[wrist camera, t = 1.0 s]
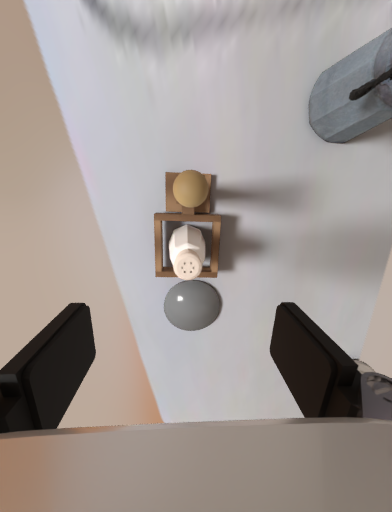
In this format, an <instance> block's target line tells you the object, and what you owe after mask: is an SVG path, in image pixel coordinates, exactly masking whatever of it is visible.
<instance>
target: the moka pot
mask: <svg viewBox="0 0 392 512" xmlns="http://www.w3.org/2000/svg"><path fill="white" fill-rule="evenodd" d="M390 118H392V28H391V29H389V30H388V31H386V32H385V33H383V34H381V35H380V36H378V37H377V38H375V39H373V40H372V41H370V42H369V43H367V44H366V45H364V46H362V47H361V48H359V49H358V50H356V51H354V52H353V53H351V54H350V55H348V56H347V57H345V58H344V59H342V60H340V61H339V62H337V63H336V64H335V65H333V66H331V67H330V68H328V69H327V70H325V71H324V72H322V74H321V75H320V77H319V78H318V80H317V82H316V83H315V85H314V88H313V90H312V93H311V96H310V100H309V120H310V121H309V123H310V125H311V127H312V128H313V130H314V131H315V133H316V134H317V135H318V136H319V137H321V138H322V139H323V140H325V141H328V142H335V143H344V142H346V141H348V140H350V139H352V138H354V137H356V136H358V135H360V134H362V133H364V132H365V131H367V130H369V129H371V128H373V127H375V126H377V125H379V124H381V123H383V122H384V121H386V120H388V119H390Z"/></svg>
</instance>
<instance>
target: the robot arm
mask: <svg viewBox="0 0 392 512" xmlns="http://www.w3.org/2000/svg"><path fill="white" fill-rule="evenodd" d="M95 354H96V350H95V344H94V336H93V329H92V322H91V315H90V308H89V306H86V304H85V303H70V304H69V305H68V306H67V307H66V308H65V309H64V310H63V311H62V312H61V313H59V315H57V316H56V317H55V318H54V319H53V320H52V321H51V322H50V323H49V324H48V325H47V326H46V327H45V328H44V329H43V330H42V331H41V332H40V333H39V334H37V335H36V336H35V337H34V338H33V339H32V340H31V341H30V342H29V343H28V344H27V345H26V346H25V347H24V348H23V349H22V350H21V351H20V352H19V353H18V354H16V355H15V357H13V358H12V359H11V360H10V361H9V362H8V363H7V364H6V365H5V366H4V367H3V368H2V369H1V370H0V512H392V378H389V377H387V376H385V375H382V374H379V373H376V372H375V371H374V370H373V369H372V368H371V367H370V366H368V365H367V364H366V363H364V362H362V361H358V360H352V359H351V358H350V357H349V356H348V355H347V354H346V353H345V352H344V351H343V350H342V349H341V348H340V347H339V346H338V345H337V344H336V343H335V342H334V341H333V340H332V339H331V338H330V337H329V336H328V335H327V334H326V333H325V332H324V331H323V330H322V329H321V328H320V327H319V326H318V325H317V324H315V323H314V322H313V321H312V320H311V319H310V318H309V317H308V316H307V315H306V314H305V313H304V312H303V311H302V310H301V309H300V308H299V307H298V306H297V305H296V304H295V303H293V302H282V303H281V304H280V305H278V306H277V309H276V315H275V321H274V327H273V333H272V339H271V344H270V354H271V357H272V358H273V360H274V362H275V364H276V366H277V368H278V369H279V371H280V373H281V375H282V377H283V379H284V380H285V382H286V384H287V386H288V388H289V390H290V391H291V393H292V395H293V397H294V399H295V401H296V402H297V404H298V406H299V408H300V410H301V412H302V413H303V415H304V417H305V418H287V419H260V420H232V421H208V422H184V423H161V424H139V425H118V426H99V427H78V428H62V429H57V427H58V425H59V423H60V421H61V420H62V418H63V415H64V414H65V412H66V410H67V408H68V407H69V405H70V403H71V401H72V399H73V397H74V396H75V394H76V392H77V390H78V388H79V386H80V385H81V383H82V381H83V379H84V377H85V375H86V374H87V372H88V370H89V368H90V366H91V364H92V362H93V360H94V358H95Z"/></svg>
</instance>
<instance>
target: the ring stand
mask: <svg viewBox="0 0 392 512" xmlns="http://www.w3.org/2000/svg"><path fill="white" fill-rule="evenodd" d="M210 189H211V174H201V173H200V172H198V171H195V170H186V171H183V172H182V173H172V172H166V211H169V212H182V213H155V214H154V232H155V269H156V277H178V276H177V275H176V274H175V272H174V268H173V267H163V236H162V221H199V222H213V223H212V242H211V260H210V267H202V271H201V273H200V274H199V276H198V277H211V278H217V271H218V256H219V241H220V226H221V215H218V214H194V212H203V213H209V209H210Z"/></svg>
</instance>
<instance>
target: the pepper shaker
mask: <svg viewBox="0 0 392 512" xmlns="http://www.w3.org/2000/svg"><path fill="white" fill-rule="evenodd" d="M169 252H170V259H171V262H172V264H173V268H174V272H175V274H176V275H177V276H178V277H179V278H181V279H183V280H192V279H195V278H196V277H198V276H199V274H200V273H201V271H202V264H203V262H204V259H205V241H204V238H203V236H202V233H201V230H199V229H197V228H194V227H192V226H190V225H184V226H182V227H179V228H177V229H175V230H174V231H173V233H172V236H171V238H170V241H169Z"/></svg>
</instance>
